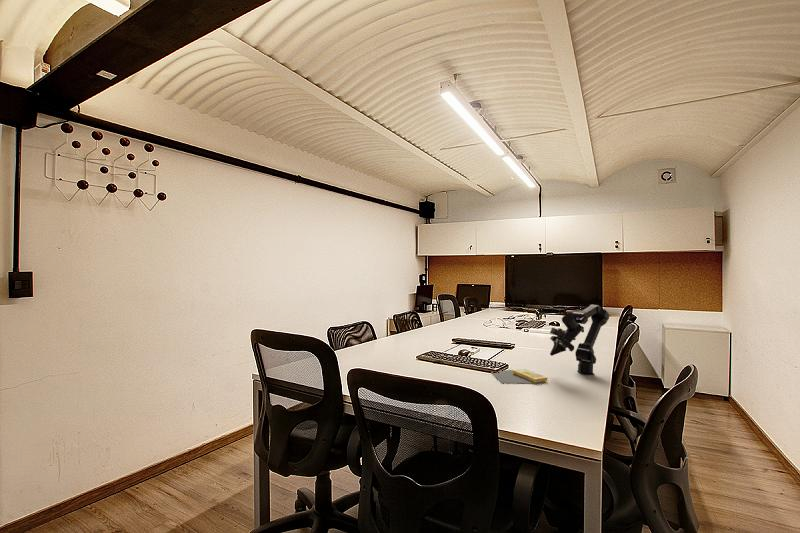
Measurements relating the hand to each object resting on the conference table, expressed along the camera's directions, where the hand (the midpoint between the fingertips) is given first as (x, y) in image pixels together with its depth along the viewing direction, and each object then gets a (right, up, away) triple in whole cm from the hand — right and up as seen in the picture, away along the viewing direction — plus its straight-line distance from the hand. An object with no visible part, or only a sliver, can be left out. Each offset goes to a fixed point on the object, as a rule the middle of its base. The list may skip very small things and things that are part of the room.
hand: (550, 355), depth 201 cm
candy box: (-8, -10, -1) cm, 13 cm away
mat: (-19, -11, -1) cm, 22 cm away
